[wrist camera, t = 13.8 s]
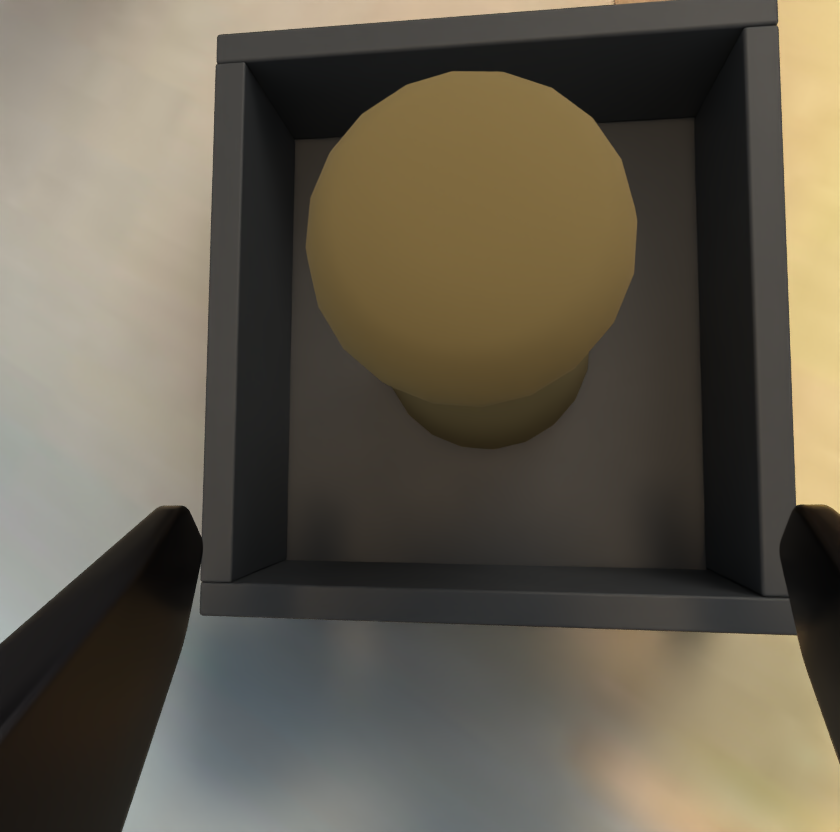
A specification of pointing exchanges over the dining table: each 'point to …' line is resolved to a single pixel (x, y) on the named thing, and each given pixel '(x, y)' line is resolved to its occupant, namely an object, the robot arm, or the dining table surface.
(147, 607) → the robot arm
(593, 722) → the dining table surface
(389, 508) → the bin
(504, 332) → the tan pawn figure
